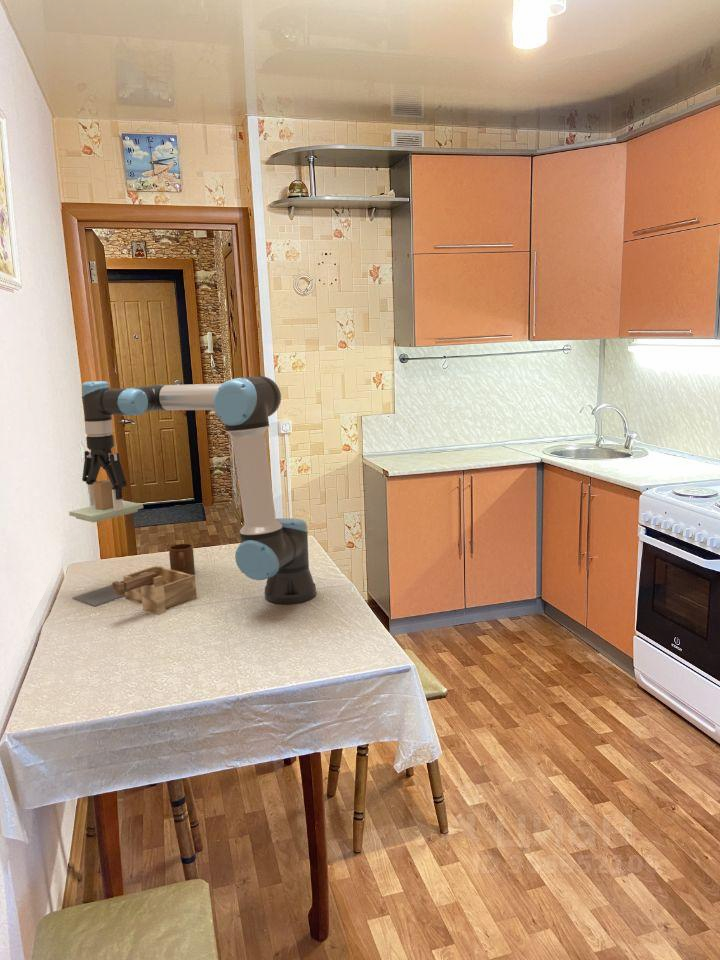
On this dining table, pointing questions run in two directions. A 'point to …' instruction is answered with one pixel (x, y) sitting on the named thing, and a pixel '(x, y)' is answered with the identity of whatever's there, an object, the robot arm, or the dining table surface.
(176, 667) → the dining table surface
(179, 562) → the mug
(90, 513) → the lid
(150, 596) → the toolbox
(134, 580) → the bar
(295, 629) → the dining table surface
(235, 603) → the dining table surface
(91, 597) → the mat
